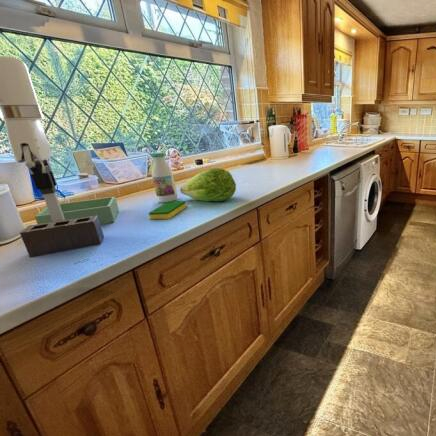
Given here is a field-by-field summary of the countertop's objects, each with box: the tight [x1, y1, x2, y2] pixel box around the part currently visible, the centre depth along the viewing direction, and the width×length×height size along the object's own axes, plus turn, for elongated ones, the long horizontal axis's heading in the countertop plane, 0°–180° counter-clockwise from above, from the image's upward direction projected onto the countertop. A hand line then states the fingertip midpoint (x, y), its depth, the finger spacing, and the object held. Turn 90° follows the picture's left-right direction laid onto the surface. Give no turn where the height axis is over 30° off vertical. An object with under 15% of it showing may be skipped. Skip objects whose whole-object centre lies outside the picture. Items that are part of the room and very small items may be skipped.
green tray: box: [34, 196, 120, 225], centre depth 105 cm, size 20×15×6 cm
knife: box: [39, 166, 65, 222], centre depth 80 cm, size 3×2×15 cm
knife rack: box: [19, 215, 105, 258], centre depth 84 cm, size 16×6×7 cm, turn 118°
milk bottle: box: [151, 151, 179, 203], centre depth 125 cm, size 8×8×20 cm
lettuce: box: [179, 167, 237, 202], centre depth 124 cm, size 15×24×14 cm, turn 73°
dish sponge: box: [148, 200, 187, 220], centre depth 111 cm, size 7×14×2 cm, turn 0°
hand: (47, 187), depth 79 cm, fingers closed on knife, 2 cm apart
